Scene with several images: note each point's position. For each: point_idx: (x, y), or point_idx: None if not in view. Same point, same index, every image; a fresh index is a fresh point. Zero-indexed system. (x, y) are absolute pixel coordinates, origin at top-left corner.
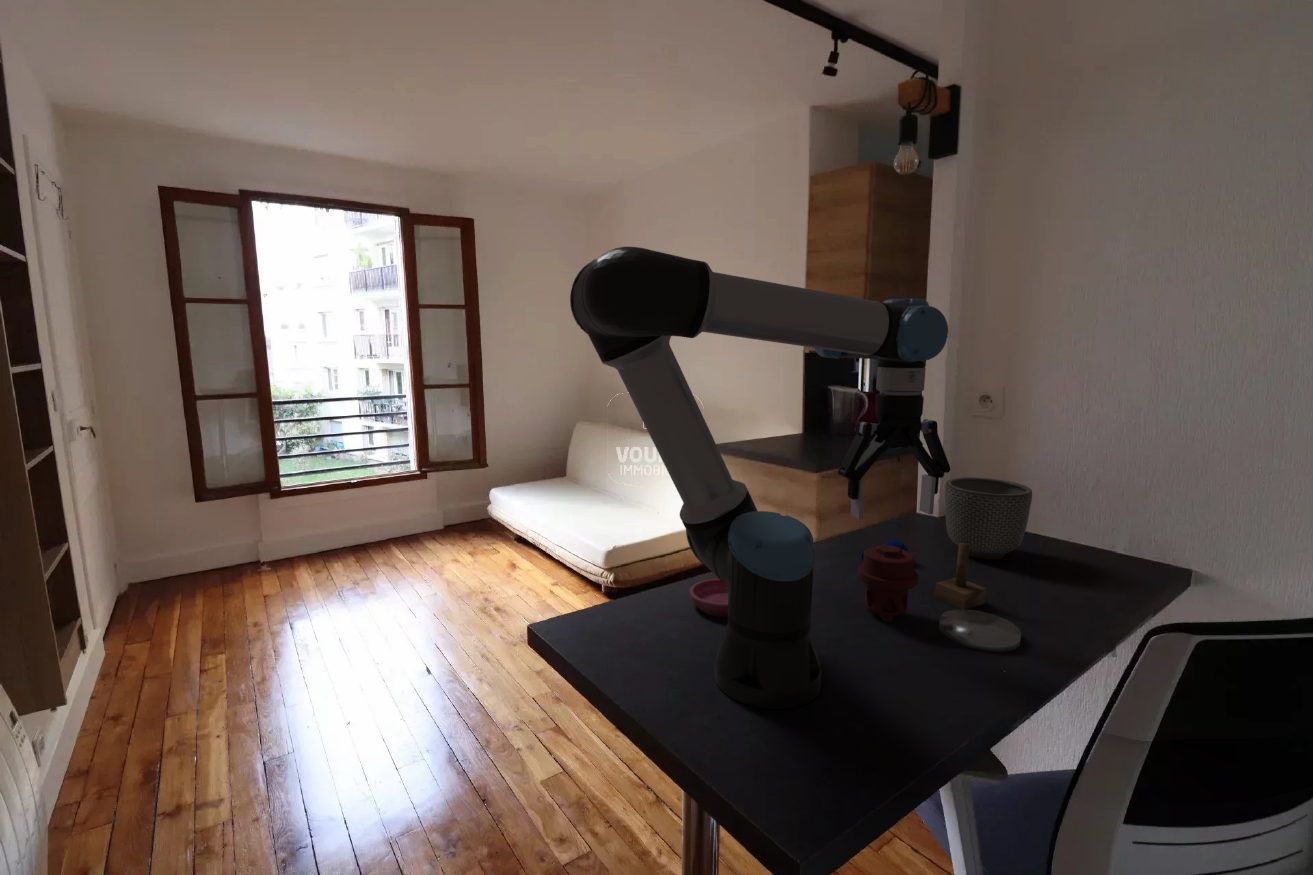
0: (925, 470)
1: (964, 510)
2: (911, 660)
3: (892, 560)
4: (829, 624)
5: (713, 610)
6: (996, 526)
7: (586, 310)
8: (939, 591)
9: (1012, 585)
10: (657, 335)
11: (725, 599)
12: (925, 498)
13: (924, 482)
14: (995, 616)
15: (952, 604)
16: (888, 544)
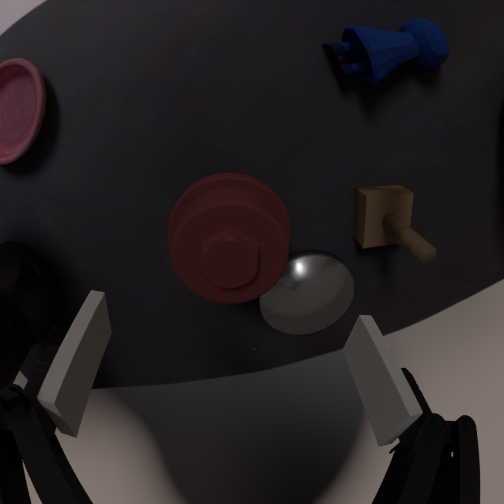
0: (420, 432)
1: None
2: (173, 311)
3: (206, 292)
4: (122, 205)
5: None
6: None
7: None
8: (361, 199)
9: (467, 205)
10: None
11: (18, 101)
12: (365, 368)
13: (389, 404)
14: (350, 287)
15: (354, 219)
16: (424, 35)
